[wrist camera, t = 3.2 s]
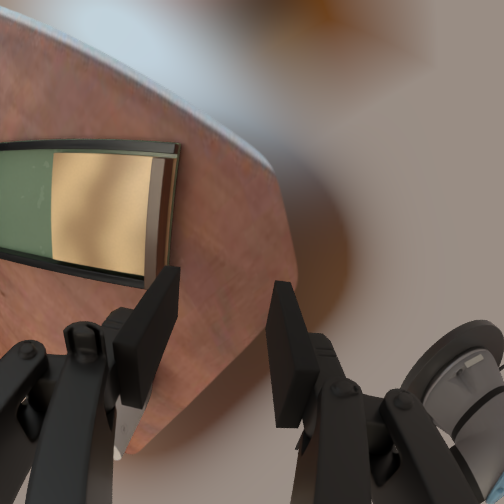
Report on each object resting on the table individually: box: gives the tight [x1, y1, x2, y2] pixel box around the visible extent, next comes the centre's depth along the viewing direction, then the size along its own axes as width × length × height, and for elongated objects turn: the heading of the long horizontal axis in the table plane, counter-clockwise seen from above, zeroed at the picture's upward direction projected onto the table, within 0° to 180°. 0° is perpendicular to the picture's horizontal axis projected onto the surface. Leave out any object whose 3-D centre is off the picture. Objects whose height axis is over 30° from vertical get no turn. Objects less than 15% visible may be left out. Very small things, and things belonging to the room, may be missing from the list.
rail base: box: [0, 139, 181, 289], centre depth 28 cm, size 28×15×2 cm, turn 81°
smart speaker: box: [113, 385, 152, 460], centre depth 29 cm, size 10×9×14 cm
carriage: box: [51, 153, 177, 290], centre depth 26 cm, size 14×12×4 cm
